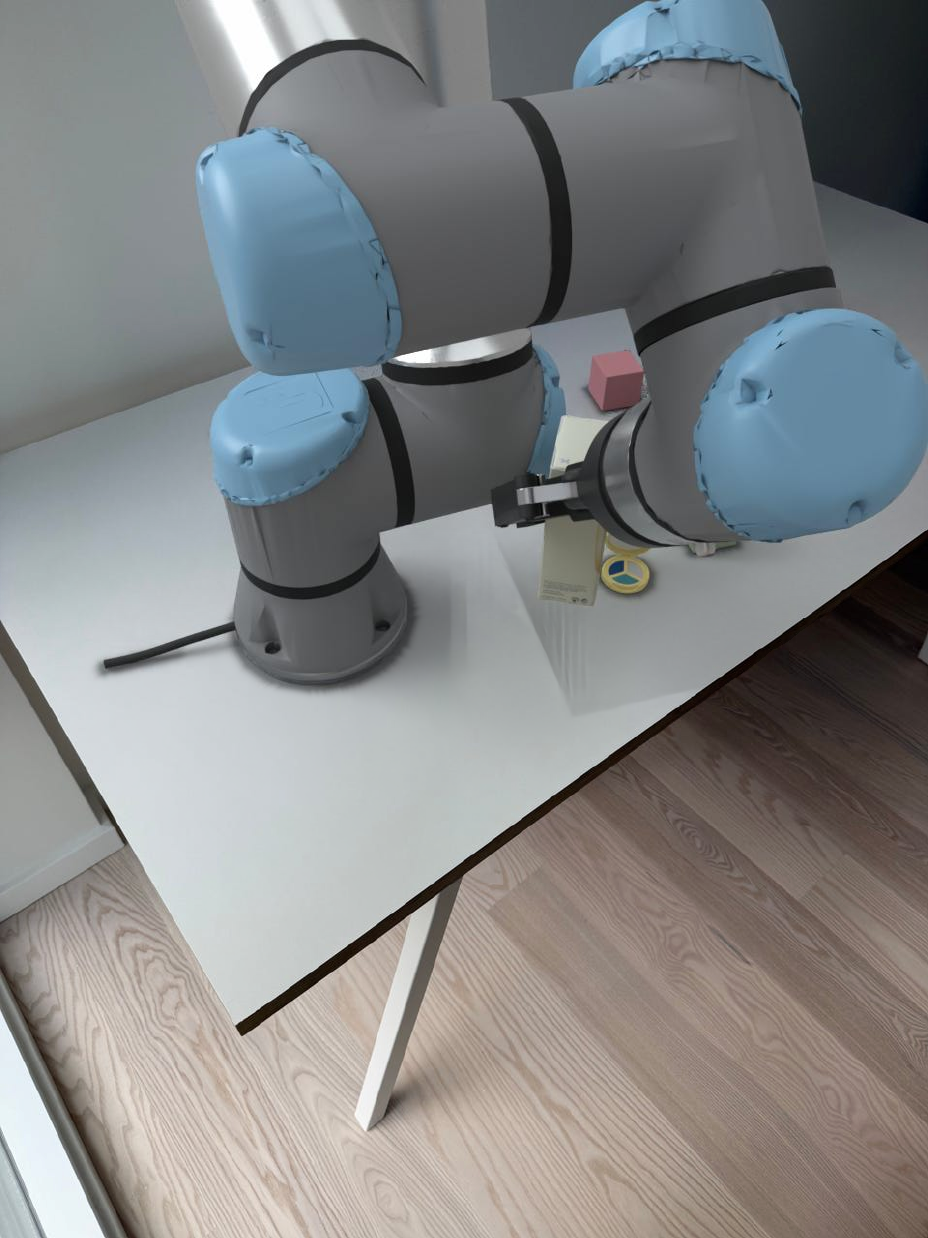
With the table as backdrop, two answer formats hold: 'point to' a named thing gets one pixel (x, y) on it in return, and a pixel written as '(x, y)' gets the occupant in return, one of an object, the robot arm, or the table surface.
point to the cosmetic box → (572, 527)
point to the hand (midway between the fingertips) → (563, 504)
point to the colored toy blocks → (620, 388)
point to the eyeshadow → (624, 567)
